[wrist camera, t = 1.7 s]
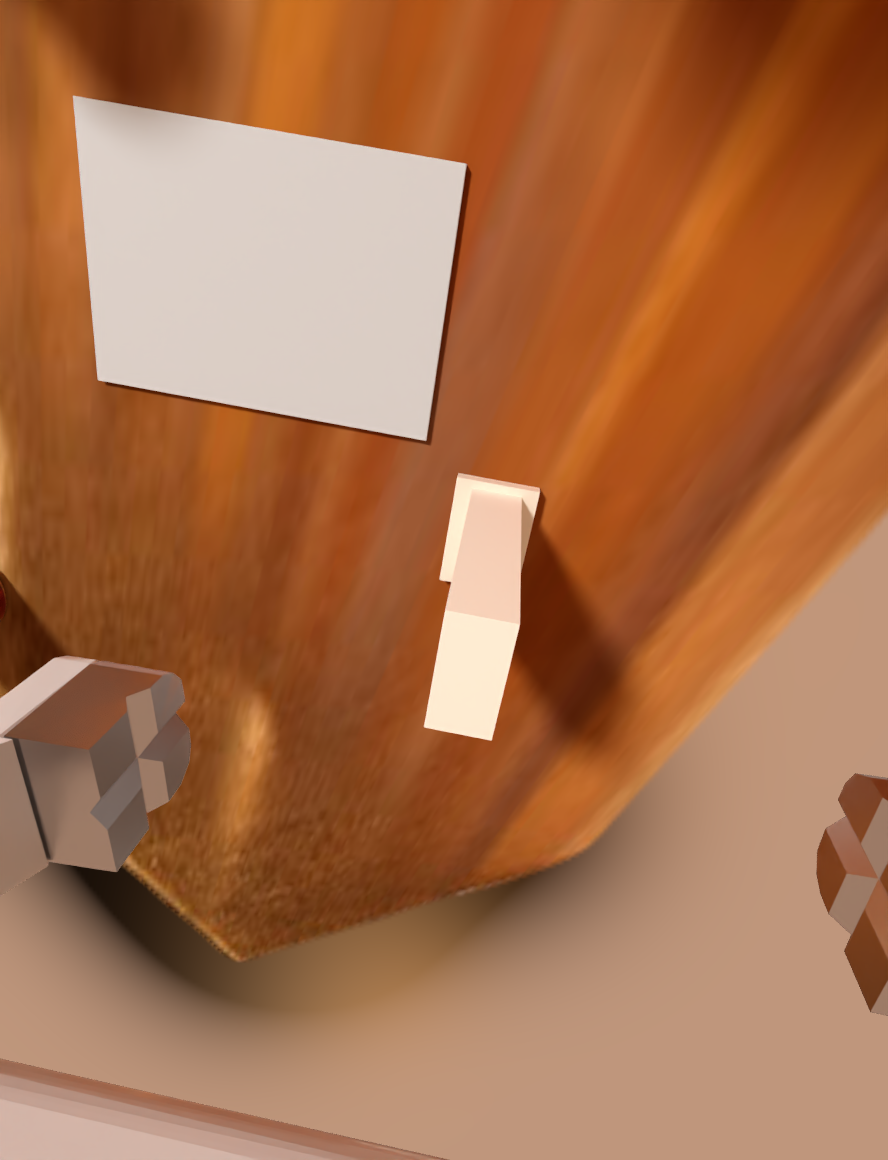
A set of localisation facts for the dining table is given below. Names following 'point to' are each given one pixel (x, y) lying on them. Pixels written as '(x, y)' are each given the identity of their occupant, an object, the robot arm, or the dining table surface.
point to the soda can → (2, 601)
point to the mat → (266, 266)
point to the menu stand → (480, 603)
